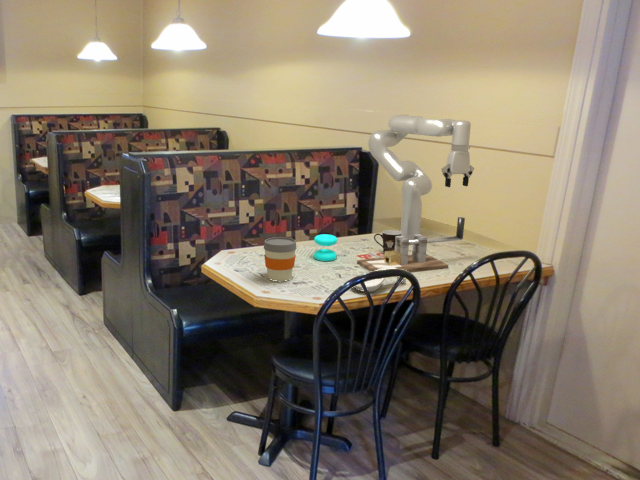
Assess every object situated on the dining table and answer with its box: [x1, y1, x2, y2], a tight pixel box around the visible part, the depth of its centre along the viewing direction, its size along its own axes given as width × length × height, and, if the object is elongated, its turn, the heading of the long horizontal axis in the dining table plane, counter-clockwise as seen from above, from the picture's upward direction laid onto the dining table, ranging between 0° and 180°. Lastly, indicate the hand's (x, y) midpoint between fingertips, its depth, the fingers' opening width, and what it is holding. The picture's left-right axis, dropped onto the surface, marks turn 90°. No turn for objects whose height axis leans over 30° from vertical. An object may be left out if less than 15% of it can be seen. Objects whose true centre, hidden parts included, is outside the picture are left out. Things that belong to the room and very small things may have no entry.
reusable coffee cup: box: [263, 236, 297, 281], centre depth 227 cm, size 13×13×15 cm
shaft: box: [399, 216, 466, 246], centre depth 252 cm, size 3×32×10 cm, turn 114°
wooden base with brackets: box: [356, 233, 449, 273], centre depth 248 cm, size 18×34×12 cm, turn 114°
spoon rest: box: [353, 266, 407, 293], centre depth 222 cm, size 24×12×7 cm, turn 124°
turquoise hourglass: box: [313, 233, 338, 262], centre depth 256 cm, size 10×10×10 cm
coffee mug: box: [373, 229, 402, 255], centre depth 267 cm, size 12×9×10 cm
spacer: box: [383, 250, 401, 265], centre depth 247 cm, size 5×5×5 cm
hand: (456, 186), depth 268 cm, fingers open, 9 cm apart
